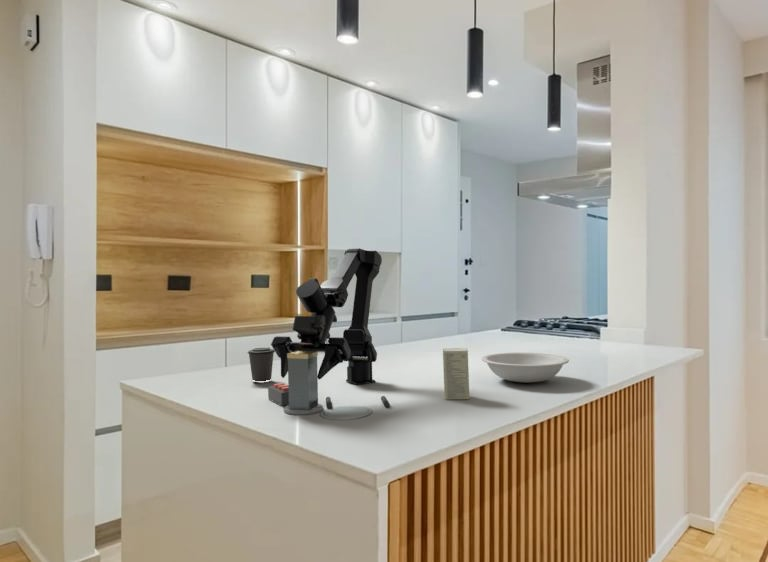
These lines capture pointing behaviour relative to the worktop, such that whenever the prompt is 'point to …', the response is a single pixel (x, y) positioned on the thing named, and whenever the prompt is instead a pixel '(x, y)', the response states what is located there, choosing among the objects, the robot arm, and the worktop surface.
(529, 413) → the worktop surface
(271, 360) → the coffee cup
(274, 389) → the gray power strip
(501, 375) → the soup bowl
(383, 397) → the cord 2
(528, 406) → the worktop surface
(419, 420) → the worktop surface
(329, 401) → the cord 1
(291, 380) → the charcoal tea tin
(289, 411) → the gray disc
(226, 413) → the worktop surface
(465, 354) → the skincare box
